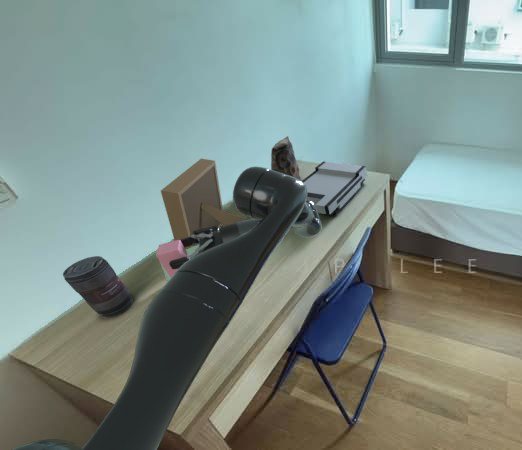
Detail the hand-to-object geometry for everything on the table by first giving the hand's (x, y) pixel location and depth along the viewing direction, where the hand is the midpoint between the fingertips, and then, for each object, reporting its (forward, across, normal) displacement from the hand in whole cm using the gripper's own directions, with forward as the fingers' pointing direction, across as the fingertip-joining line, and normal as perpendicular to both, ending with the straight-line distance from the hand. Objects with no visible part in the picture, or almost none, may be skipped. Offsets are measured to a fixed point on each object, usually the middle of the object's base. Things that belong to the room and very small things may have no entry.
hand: (172, 255), depth 75 cm
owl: (-33, -58, +16) cm, 69 cm away
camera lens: (+20, -7, +16) cm, 26 cm away
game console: (-46, -36, +16) cm, 61 cm away
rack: (0, -5, +16) cm, 16 cm away
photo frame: (-5, -27, +16) cm, 32 cm away
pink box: (0, 0, +8) cm, 8 cm away
